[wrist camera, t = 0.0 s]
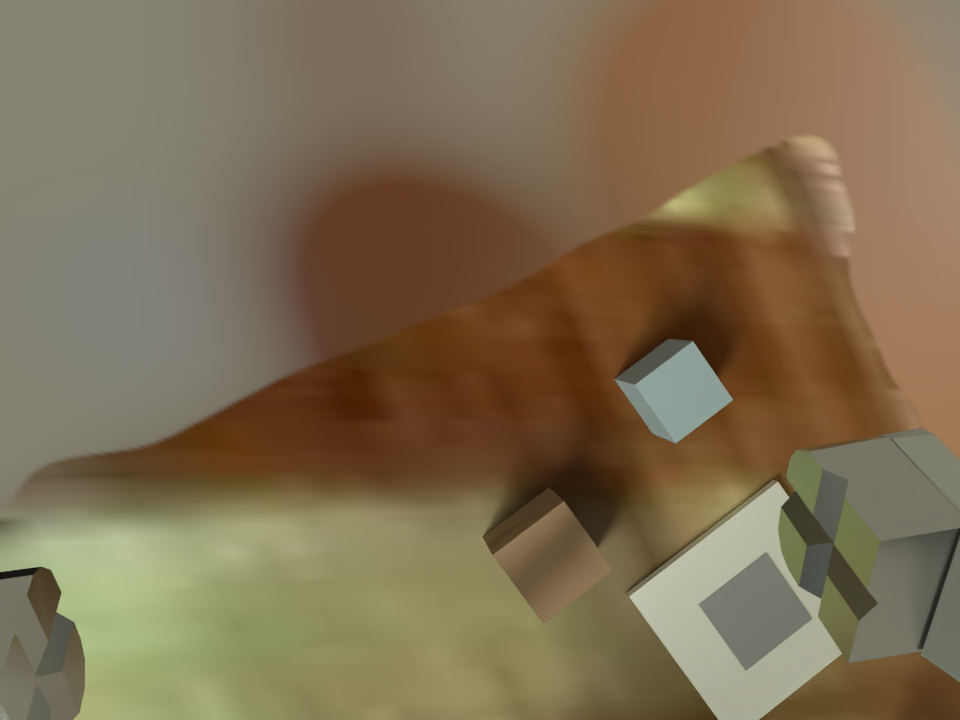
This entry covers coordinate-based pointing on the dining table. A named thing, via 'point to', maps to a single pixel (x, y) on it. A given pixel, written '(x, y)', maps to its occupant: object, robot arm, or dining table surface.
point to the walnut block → (547, 554)
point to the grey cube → (673, 389)
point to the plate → (738, 613)
